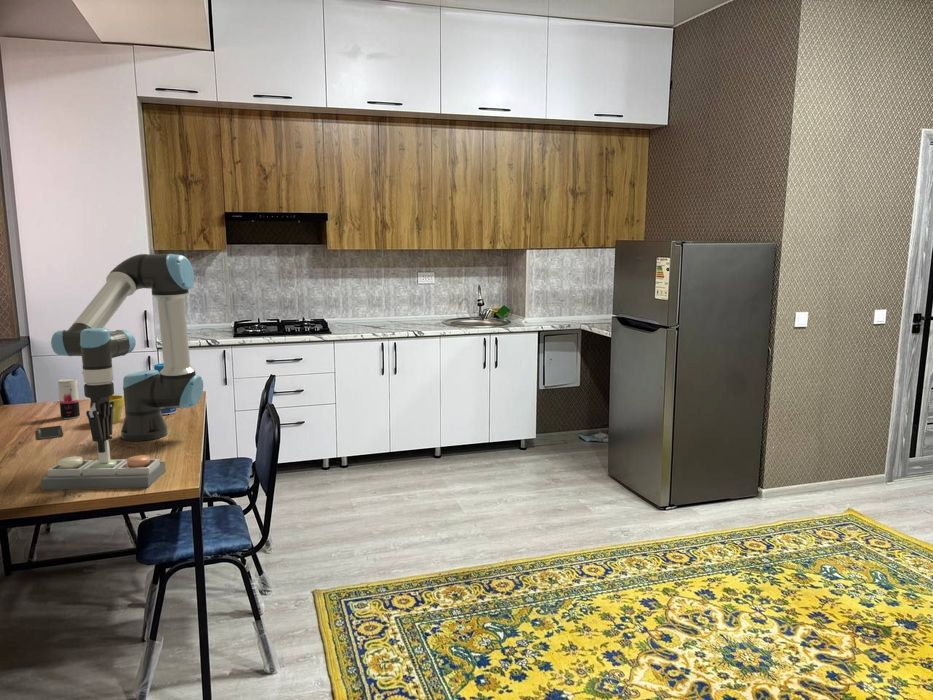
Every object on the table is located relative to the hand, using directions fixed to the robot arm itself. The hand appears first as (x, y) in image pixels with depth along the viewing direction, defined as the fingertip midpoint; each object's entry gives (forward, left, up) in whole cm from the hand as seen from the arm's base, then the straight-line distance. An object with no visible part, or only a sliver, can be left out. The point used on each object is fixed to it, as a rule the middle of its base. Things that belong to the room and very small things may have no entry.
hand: (104, 462), depth 202 cm
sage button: (0, 0, -2) cm, 2 cm away
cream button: (0, -10, -1) cm, 10 cm away
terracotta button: (0, +9, -1) cm, 10 cm away
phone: (-53, -41, -6) cm, 68 cm away
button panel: (0, 0, -6) cm, 6 cm away
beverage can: (-77, -45, -6) cm, 90 cm away
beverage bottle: (-82, -10, -6) cm, 83 cm away
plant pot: (-68, -26, -6) cm, 73 cm away
